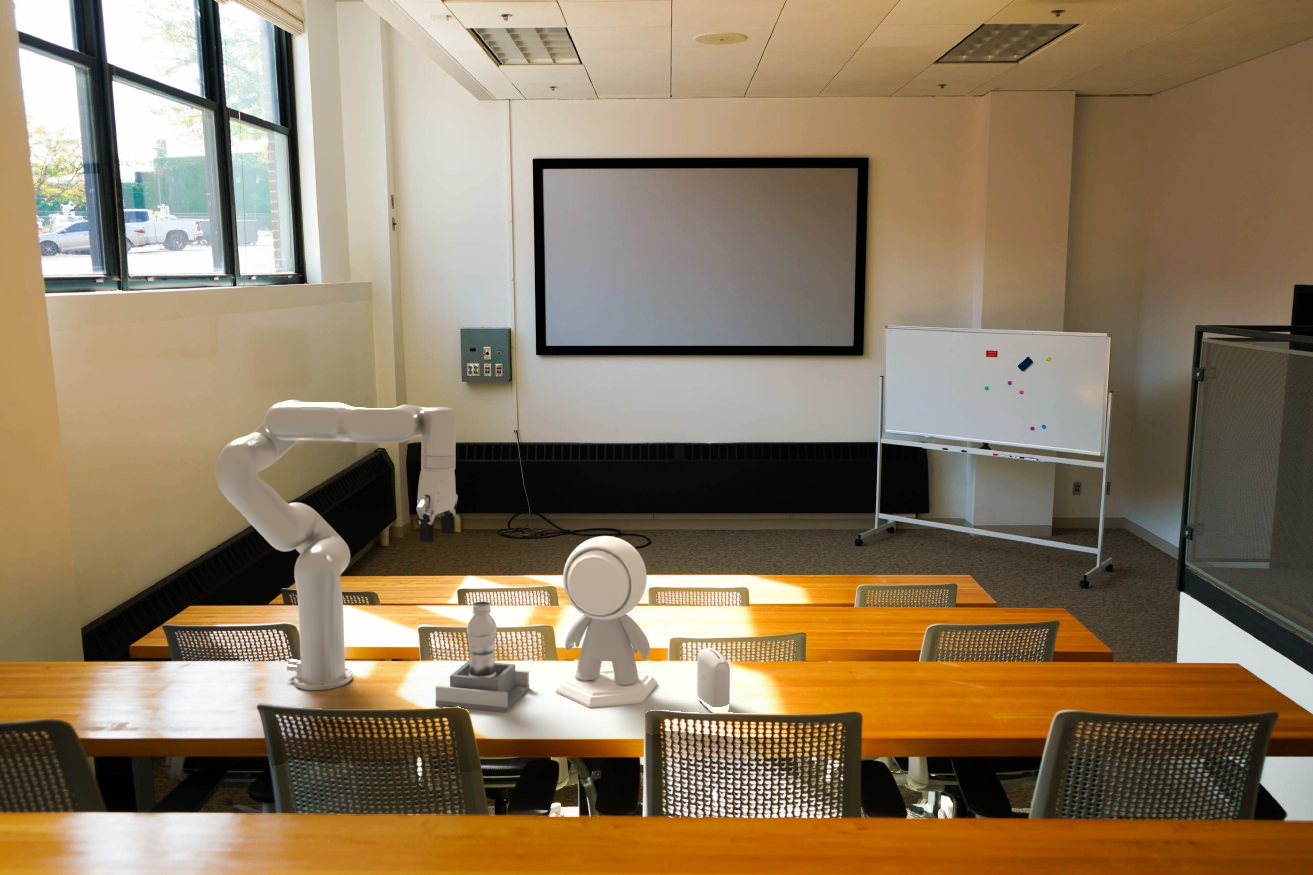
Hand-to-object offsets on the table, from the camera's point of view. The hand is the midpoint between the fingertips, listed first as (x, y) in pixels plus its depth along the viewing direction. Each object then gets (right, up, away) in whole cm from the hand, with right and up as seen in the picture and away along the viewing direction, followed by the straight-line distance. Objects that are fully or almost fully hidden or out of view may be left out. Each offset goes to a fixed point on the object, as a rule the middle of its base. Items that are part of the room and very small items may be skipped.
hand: (437, 537), depth 219 cm
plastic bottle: (+12, -33, -7) cm, 36 cm away
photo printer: (+62, -35, -12) cm, 72 cm away
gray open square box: (+12, -34, -7) cm, 37 cm away
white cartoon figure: (+38, -34, -2) cm, 51 cm away
